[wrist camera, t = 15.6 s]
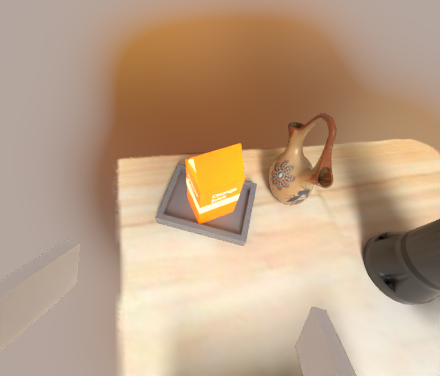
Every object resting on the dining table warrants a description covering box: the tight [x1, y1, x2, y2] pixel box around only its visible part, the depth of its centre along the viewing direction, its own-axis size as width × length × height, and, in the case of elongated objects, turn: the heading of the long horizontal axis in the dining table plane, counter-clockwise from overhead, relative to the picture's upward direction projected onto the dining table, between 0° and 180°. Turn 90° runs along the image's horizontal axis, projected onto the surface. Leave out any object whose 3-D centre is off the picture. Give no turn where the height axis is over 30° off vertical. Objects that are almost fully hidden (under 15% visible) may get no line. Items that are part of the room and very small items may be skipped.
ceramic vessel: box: [269, 113, 336, 205], centre depth 48 cm, size 16×9×25 cm, turn 13°
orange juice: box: [185, 144, 245, 224], centre depth 45 cm, size 8×9×20 cm
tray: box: [156, 164, 257, 246], centre depth 54 cm, size 20×15×3 cm
